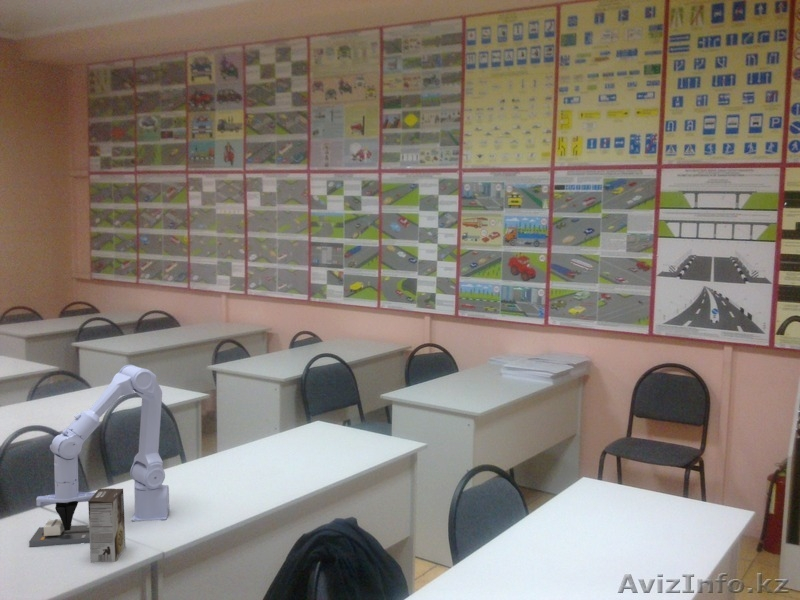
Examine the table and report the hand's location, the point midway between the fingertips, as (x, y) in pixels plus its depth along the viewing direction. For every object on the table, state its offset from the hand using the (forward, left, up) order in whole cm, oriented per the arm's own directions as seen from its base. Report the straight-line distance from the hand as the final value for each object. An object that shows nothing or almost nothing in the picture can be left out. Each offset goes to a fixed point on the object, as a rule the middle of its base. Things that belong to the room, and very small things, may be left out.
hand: (67, 529), depth 201 cm
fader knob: (+3, 0, 0) cm, 3 cm away
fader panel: (0, 0, -2) cm, 2 cm away
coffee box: (-13, +13, -3) cm, 18 cm away
